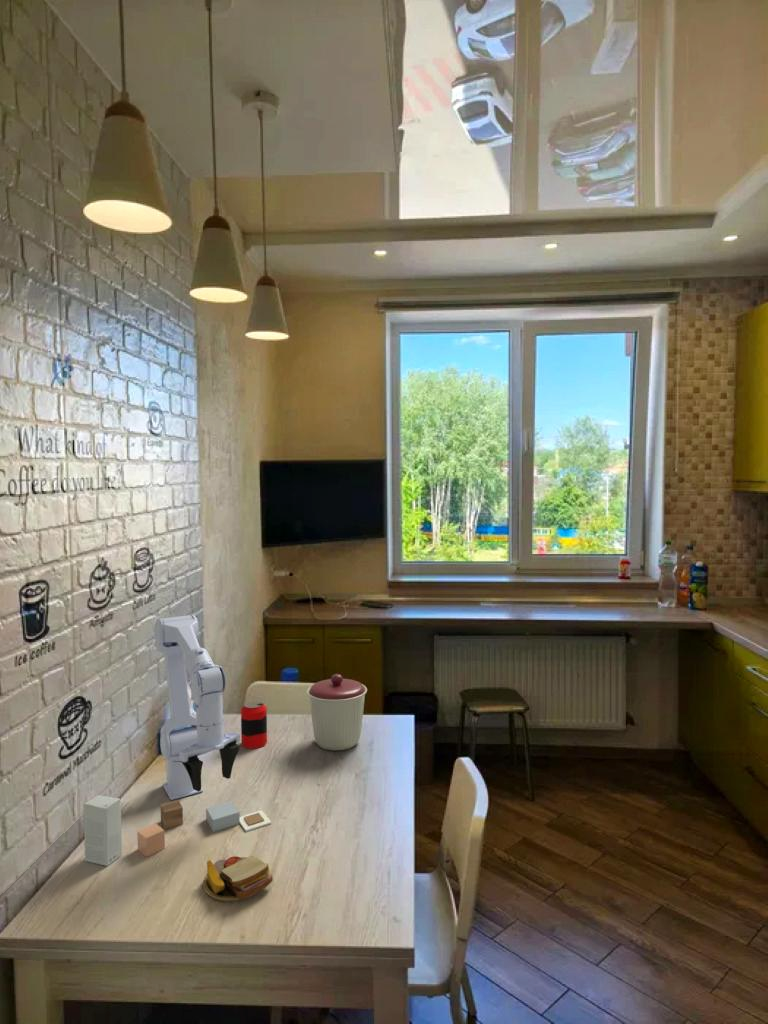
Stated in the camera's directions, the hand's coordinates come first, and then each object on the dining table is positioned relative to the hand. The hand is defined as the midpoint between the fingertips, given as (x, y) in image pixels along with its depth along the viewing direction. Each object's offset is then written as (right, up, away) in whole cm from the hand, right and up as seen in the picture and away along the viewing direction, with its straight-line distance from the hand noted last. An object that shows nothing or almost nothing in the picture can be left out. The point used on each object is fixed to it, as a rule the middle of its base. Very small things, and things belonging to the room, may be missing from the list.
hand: (212, 783), depth 132 cm
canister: (+25, -9, +45) cm, 52 cm away
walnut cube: (-10, -11, +3) cm, 15 cm away
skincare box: (-20, -11, -10) cm, 25 cm away
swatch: (+9, -10, +3) cm, 14 cm away
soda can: (-1, -9, +46) cm, 47 cm away
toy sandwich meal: (+11, -11, -18) cm, 24 cm away
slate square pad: (+2, -11, +3) cm, 11 cm away
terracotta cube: (-11, -11, -7) cm, 17 cm away
